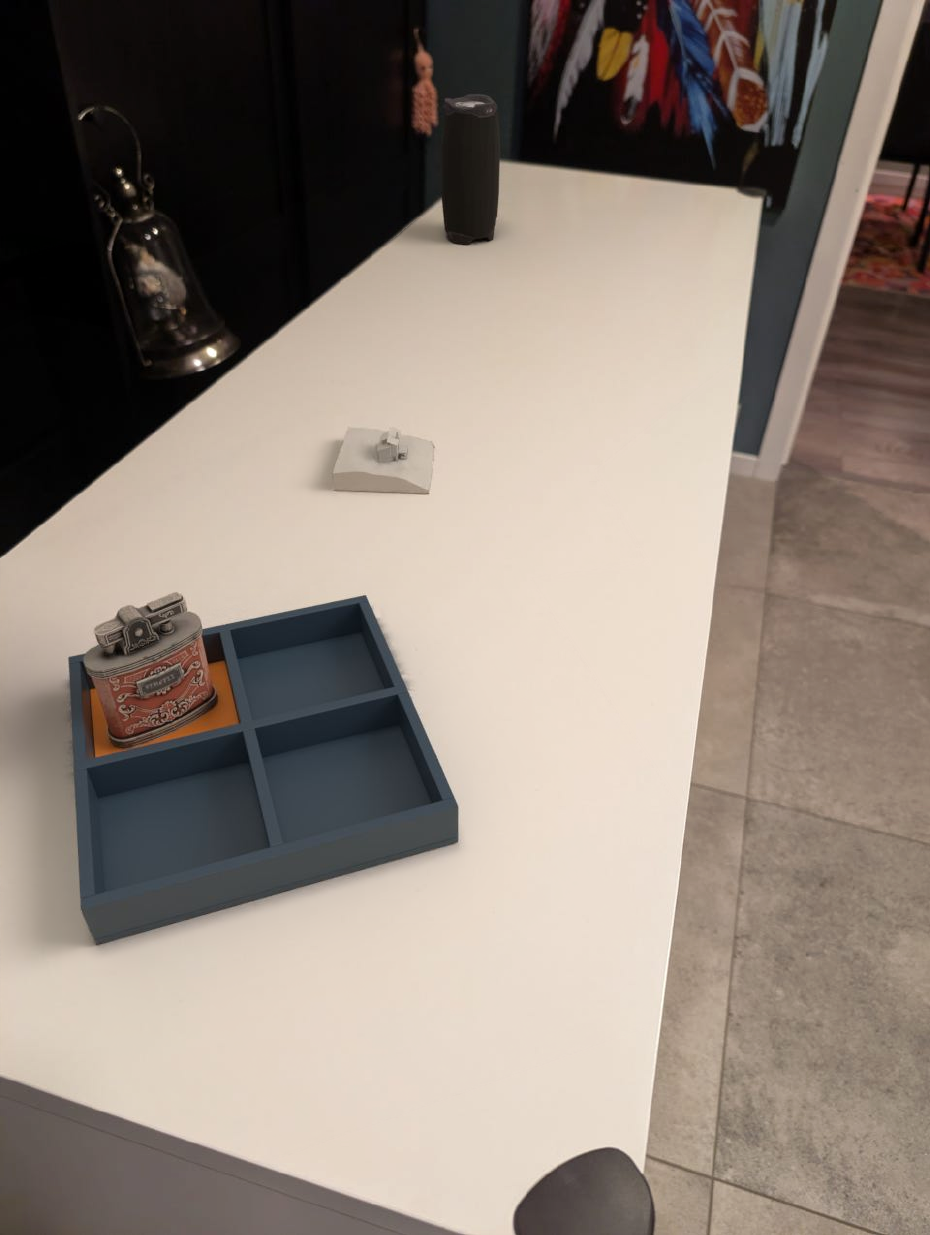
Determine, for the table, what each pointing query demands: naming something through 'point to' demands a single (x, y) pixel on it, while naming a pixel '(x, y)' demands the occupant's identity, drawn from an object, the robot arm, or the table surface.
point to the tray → (257, 776)
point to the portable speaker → (470, 168)
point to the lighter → (150, 671)
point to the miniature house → (383, 462)
